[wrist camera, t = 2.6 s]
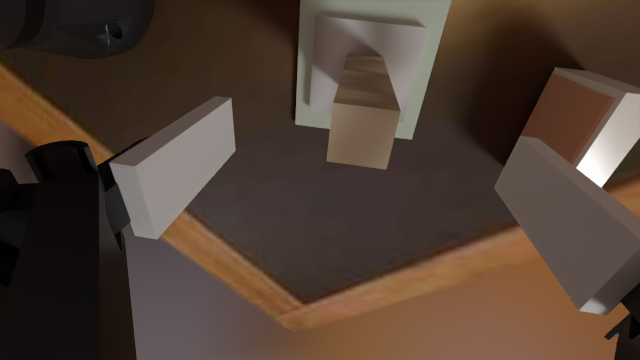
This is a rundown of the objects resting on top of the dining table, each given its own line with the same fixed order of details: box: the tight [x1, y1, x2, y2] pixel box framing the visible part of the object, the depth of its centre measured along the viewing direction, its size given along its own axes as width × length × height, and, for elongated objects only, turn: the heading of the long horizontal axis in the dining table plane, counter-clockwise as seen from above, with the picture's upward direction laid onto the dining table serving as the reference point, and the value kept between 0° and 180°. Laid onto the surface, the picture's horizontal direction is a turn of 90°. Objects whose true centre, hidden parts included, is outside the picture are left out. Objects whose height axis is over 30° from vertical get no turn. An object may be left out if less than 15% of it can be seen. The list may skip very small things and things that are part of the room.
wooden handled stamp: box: [309, 15, 427, 169], centre depth 20 cm, size 9×8×15 cm
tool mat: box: [295, 0, 451, 140], centre depth 26 cm, size 12×12×1 cm
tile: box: [520, 67, 640, 187], centre depth 24 cm, size 3×10×8 cm, turn 175°
